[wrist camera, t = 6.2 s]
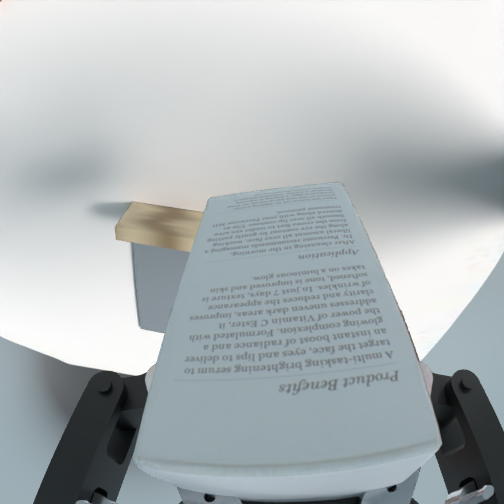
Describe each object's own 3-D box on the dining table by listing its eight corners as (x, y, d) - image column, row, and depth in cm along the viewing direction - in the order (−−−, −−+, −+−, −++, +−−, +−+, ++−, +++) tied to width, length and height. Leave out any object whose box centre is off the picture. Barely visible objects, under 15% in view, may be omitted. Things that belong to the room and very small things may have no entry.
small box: (342, 314, 17) (373, 508, 8) (240, 325, 17) (226, 518, 9) (344, 176, 12) (454, 448, 4) (205, 192, 13) (125, 468, 4)
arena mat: (322, 244, 35) (323, 246, 34) (282, 349, 46) (282, 351, 45) (132, 214, 33) (131, 215, 33) (141, 326, 44) (140, 328, 44)
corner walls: (339, 235, 34) (348, 264, 30) (292, 350, 46) (293, 378, 42) (132, 202, 32) (115, 226, 28) (141, 326, 44) (132, 353, 40)
